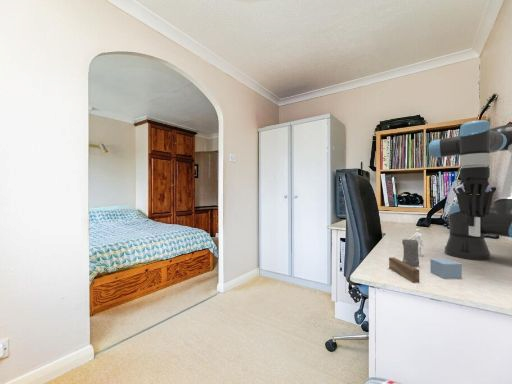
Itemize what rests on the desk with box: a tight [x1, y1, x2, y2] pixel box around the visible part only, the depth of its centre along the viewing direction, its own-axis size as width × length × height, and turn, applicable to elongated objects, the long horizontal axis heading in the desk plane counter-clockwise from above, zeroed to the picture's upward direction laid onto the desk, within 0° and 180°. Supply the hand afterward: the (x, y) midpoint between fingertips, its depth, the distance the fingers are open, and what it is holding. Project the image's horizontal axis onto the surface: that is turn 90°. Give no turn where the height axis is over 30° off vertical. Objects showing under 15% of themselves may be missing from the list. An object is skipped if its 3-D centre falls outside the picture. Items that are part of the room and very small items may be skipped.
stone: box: [401, 238, 420, 268], centre depth 93 cm, size 3×6×10 cm, turn 70°
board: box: [388, 257, 420, 283], centre depth 83 cm, size 2×14×4 cm, turn 179°
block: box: [429, 258, 463, 280], centre depth 82 cm, size 6×6×5 cm
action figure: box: [406, 228, 424, 257], centre depth 107 cm, size 6×4×12 cm, turn 36°
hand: (474, 235), depth 81 cm, fingers closed
